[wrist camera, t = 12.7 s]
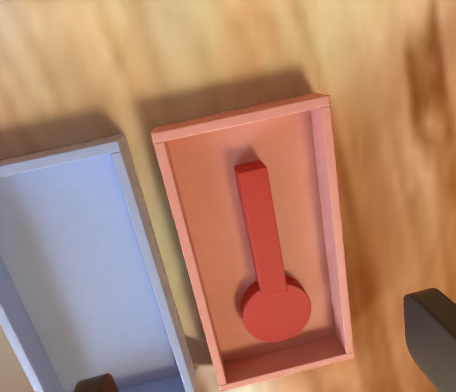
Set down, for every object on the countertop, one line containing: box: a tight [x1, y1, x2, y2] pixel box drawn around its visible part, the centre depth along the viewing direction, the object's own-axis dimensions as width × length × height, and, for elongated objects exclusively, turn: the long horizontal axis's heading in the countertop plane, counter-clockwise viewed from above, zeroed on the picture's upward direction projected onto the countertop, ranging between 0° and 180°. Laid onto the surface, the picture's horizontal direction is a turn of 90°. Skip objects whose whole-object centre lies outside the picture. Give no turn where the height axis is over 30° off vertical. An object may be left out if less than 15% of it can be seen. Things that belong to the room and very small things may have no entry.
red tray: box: [151, 93, 354, 392], centre depth 24 cm, size 19×10×2 cm, turn 11°
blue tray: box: [0, 134, 196, 392], centre depth 24 cm, size 19×10×2 cm, turn 11°
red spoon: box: [234, 160, 311, 342], centre depth 24 cm, size 14×5×2 cm, turn 11°
